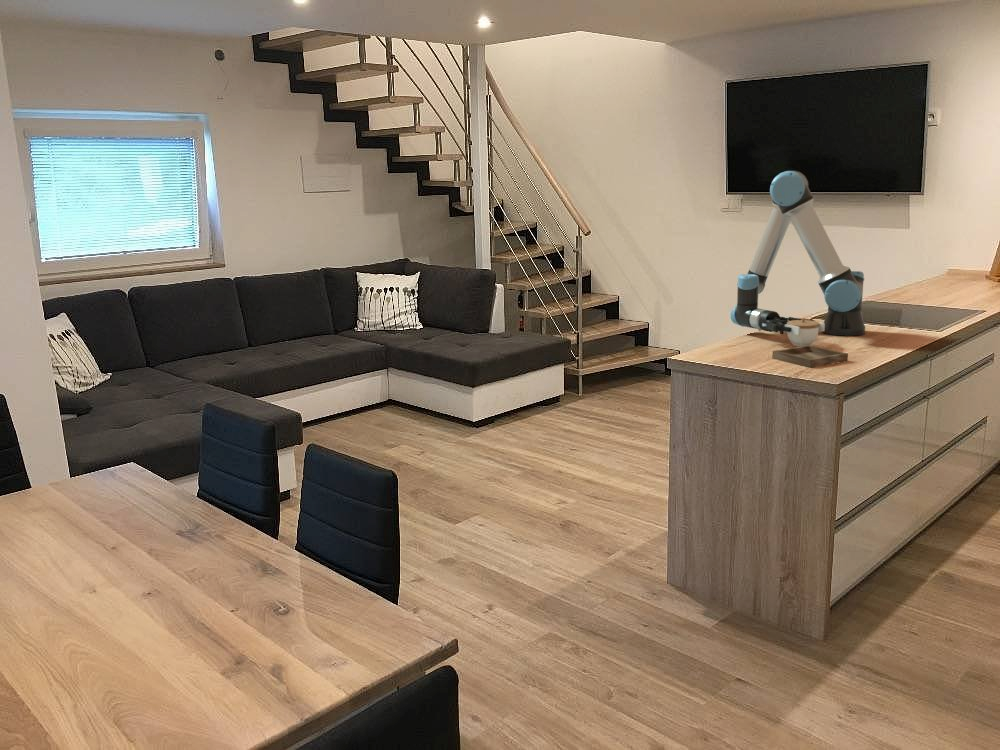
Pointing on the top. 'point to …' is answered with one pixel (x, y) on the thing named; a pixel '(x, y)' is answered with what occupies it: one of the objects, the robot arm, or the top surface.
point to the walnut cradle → (809, 356)
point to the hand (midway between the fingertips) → (811, 329)
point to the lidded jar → (804, 332)
